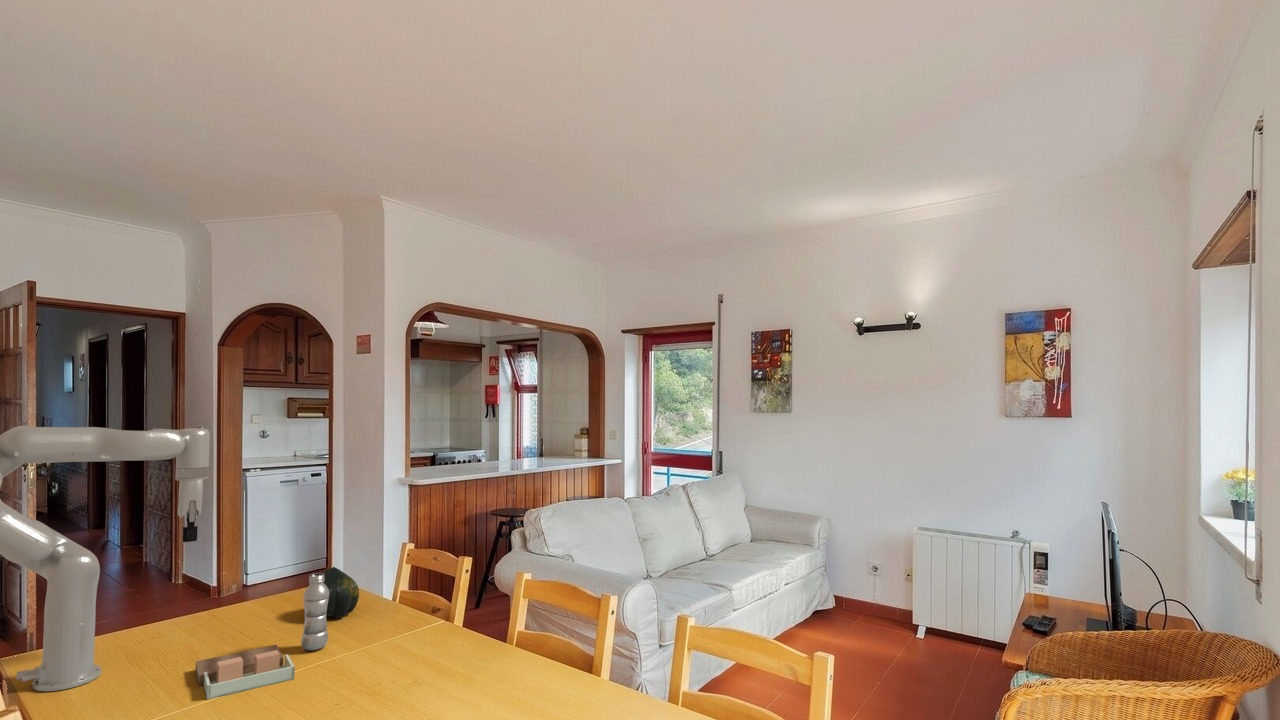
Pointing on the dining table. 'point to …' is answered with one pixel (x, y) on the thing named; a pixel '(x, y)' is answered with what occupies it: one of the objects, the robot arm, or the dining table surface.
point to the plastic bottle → (315, 613)
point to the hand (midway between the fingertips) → (189, 540)
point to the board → (246, 656)
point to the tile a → (229, 669)
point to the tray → (249, 681)
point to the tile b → (266, 662)
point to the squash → (340, 593)
